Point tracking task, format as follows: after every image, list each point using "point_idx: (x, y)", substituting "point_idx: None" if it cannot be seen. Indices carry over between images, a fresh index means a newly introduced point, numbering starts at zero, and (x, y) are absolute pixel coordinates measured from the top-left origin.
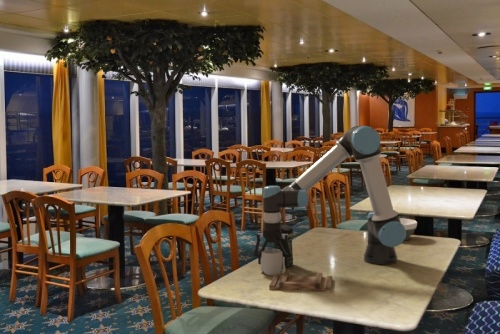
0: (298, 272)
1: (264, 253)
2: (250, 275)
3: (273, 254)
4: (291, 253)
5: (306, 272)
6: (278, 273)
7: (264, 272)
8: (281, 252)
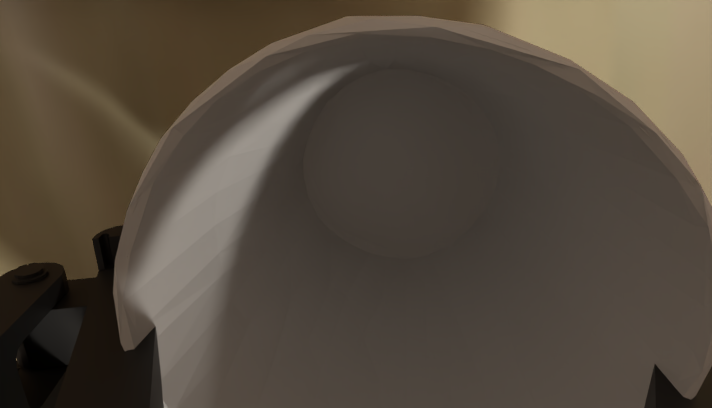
0: (123, 222)
1: (643, 116)
2: (691, 61)
3: (313, 31)
4: (19, 374)
5: (45, 226)
6: (316, 116)
7: (500, 146)
8: (120, 256)
